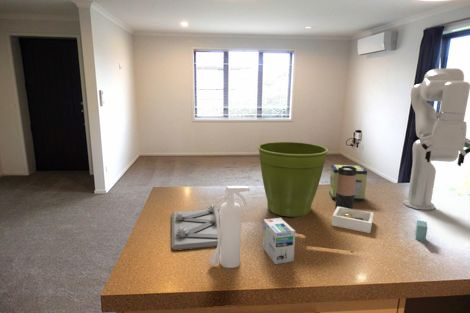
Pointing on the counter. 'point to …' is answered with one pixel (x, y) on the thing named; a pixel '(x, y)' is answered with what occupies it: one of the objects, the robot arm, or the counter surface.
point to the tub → (353, 219)
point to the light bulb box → (279, 240)
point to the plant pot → (291, 175)
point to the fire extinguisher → (229, 228)
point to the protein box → (359, 185)
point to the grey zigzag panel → (194, 229)
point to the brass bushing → (348, 215)
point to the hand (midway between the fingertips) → (443, 163)
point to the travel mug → (345, 187)
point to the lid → (421, 231)
